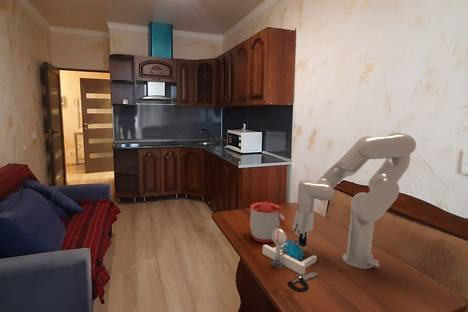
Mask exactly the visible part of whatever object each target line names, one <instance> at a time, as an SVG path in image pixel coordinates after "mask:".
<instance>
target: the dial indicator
mask: <svg viewBox="0 0 468 312" xmlns="http://www.w3.org/2000/svg"><path fill="white" fill-rule="evenodd" d="M272 240H273V243H274V244H275V247H276V255H275V260H272V261H271V262H270V263H269V265H270V266H273V267H274V268H276V269H278V270H282V269H284V268H285V266H284V265H283V264H282V263H280V253H281V252H282V253H283V252H284V251H285V249H282V250H281V246H282V245H284V244H285V243H286V241H288V237H287V233H286V232H285V230H283V228H280V227H279V228H277V229H275V230H273V231H272Z"/></svg>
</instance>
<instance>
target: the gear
mask: <svg viewBox="0 0 468 312" xmlns="http://www.w3.org/2000/svg"><path fill="white" fill-rule="evenodd" d="M286 243H287V244H288V246H287V244H285V245H284V247H286V248H287V249H285V251H283V252H284V253H286V255H288V256H290V257H292V258H294V259H296V260H298V261H302V260H303V257H304V256H305V254H304V253H303V252H304V251H305V250H306V248H305V247H302V246H301V244H299V243H298V240H296V239H295V240H293V238H292V239H291V238H290V239H287V241H286ZM297 243H298V244H297ZM301 247H302V248H301Z"/></svg>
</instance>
